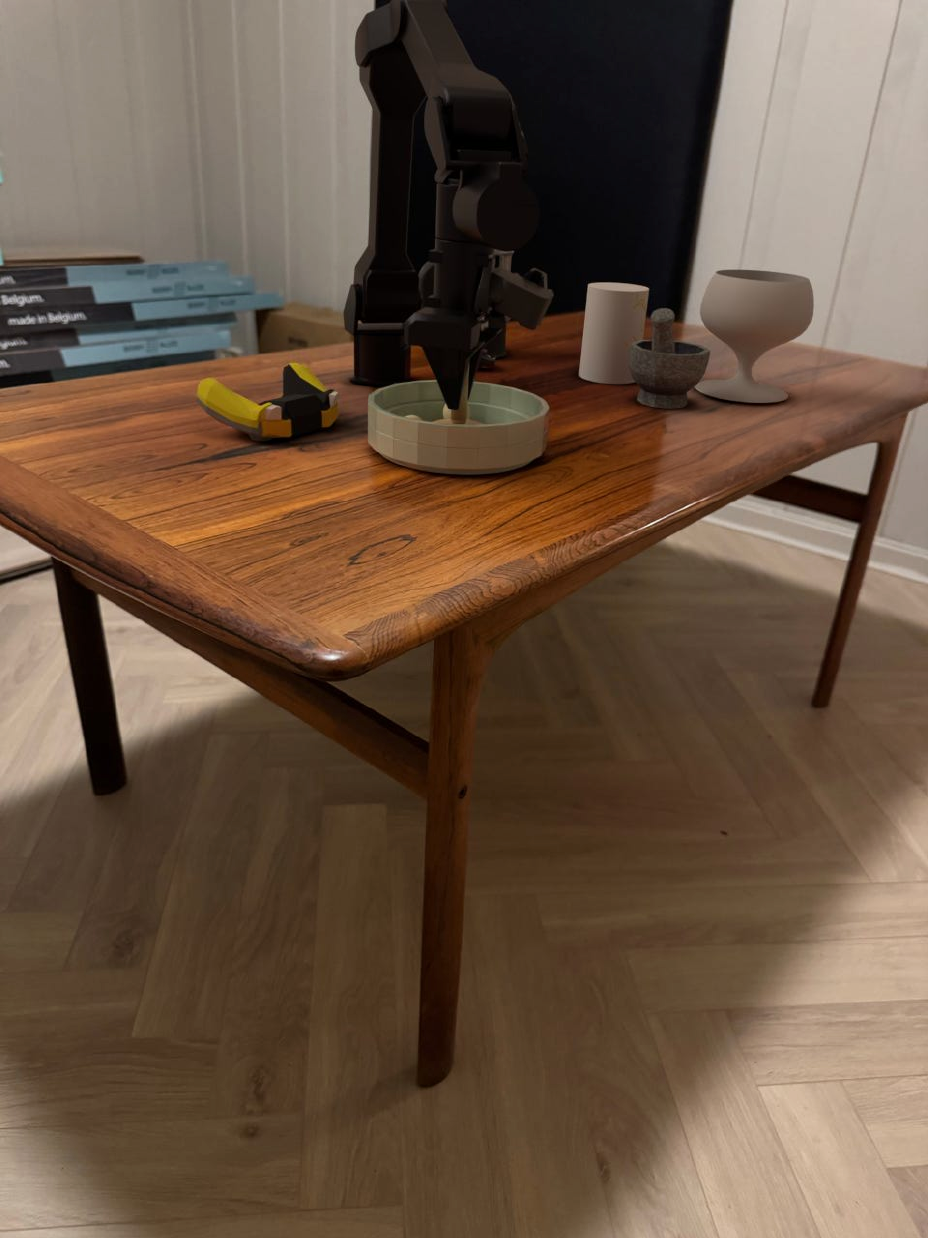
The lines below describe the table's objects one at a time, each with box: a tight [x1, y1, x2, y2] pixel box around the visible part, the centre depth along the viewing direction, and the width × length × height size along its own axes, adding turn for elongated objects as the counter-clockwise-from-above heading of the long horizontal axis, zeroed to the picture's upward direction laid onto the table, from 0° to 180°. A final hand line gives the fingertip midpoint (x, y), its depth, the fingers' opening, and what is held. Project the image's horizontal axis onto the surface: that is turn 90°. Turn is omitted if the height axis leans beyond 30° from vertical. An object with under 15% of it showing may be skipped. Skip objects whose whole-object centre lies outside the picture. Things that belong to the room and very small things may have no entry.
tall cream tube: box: [578, 282, 650, 385], centre depth 126 cm, size 8×8×12 cm
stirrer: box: [433, 364, 485, 425], centre depth 93 cm, size 6×6×10 cm
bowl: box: [367, 379, 550, 476], centre depth 94 cm, size 18×18×5 cm
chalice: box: [694, 269, 815, 404], centre depth 120 cm, size 14×14×15 cm
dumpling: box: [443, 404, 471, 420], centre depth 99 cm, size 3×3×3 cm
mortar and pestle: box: [628, 307, 711, 410], centre depth 114 cm, size 11×9×12 cm
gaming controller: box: [196, 361, 340, 442], centre depth 98 cm, size 15×6×10 cm
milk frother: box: [418, 250, 515, 369], centre depth 132 cm, size 14×16×15 cm
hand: (458, 404), depth 93 cm, fingers open, 3 cm apart
